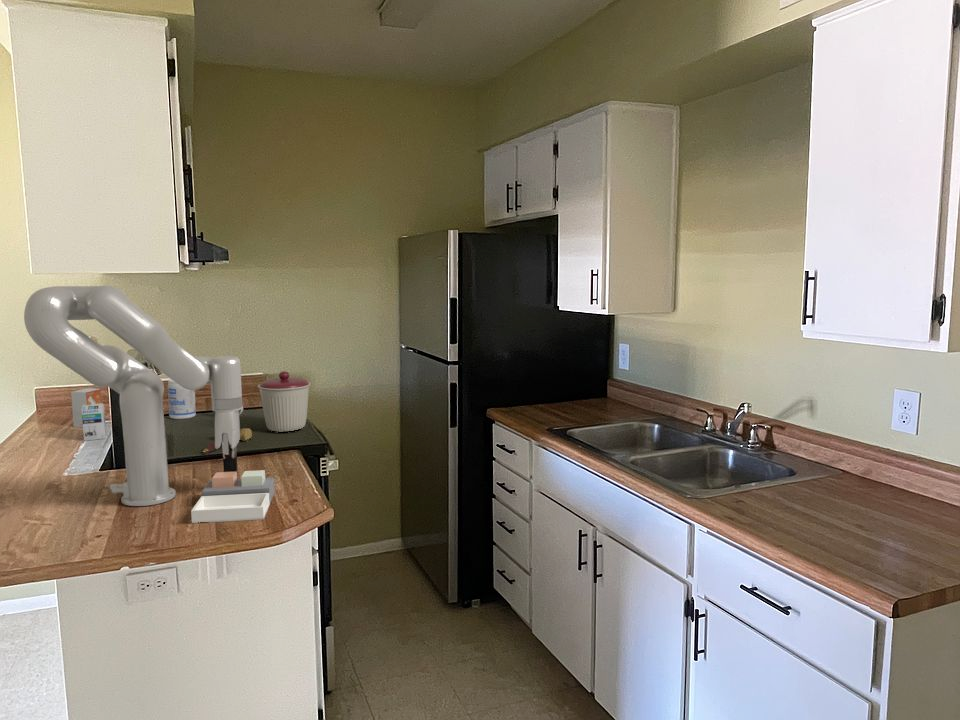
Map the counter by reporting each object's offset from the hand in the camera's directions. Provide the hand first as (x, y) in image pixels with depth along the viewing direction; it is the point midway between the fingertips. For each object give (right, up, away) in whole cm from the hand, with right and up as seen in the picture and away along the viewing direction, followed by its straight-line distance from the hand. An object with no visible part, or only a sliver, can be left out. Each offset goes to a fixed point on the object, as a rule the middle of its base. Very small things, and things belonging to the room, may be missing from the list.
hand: (230, 472), depth 189 cm
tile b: (+8, -2, -7) cm, 11 cm away
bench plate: (+5, -6, -7) cm, 11 cm away
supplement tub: (-49, +7, +89) cm, 102 cm away
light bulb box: (-67, +3, +59) cm, 89 cm away
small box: (-79, +5, +77) cm, 110 cm away
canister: (-4, +4, +68) cm, 68 cm away
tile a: (+1, -2, -8) cm, 8 cm away
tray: (+6, -7, -17) cm, 20 cm away
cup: (-30, +7, +88) cm, 93 cm away
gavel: (-19, +1, +45) cm, 49 cm away
